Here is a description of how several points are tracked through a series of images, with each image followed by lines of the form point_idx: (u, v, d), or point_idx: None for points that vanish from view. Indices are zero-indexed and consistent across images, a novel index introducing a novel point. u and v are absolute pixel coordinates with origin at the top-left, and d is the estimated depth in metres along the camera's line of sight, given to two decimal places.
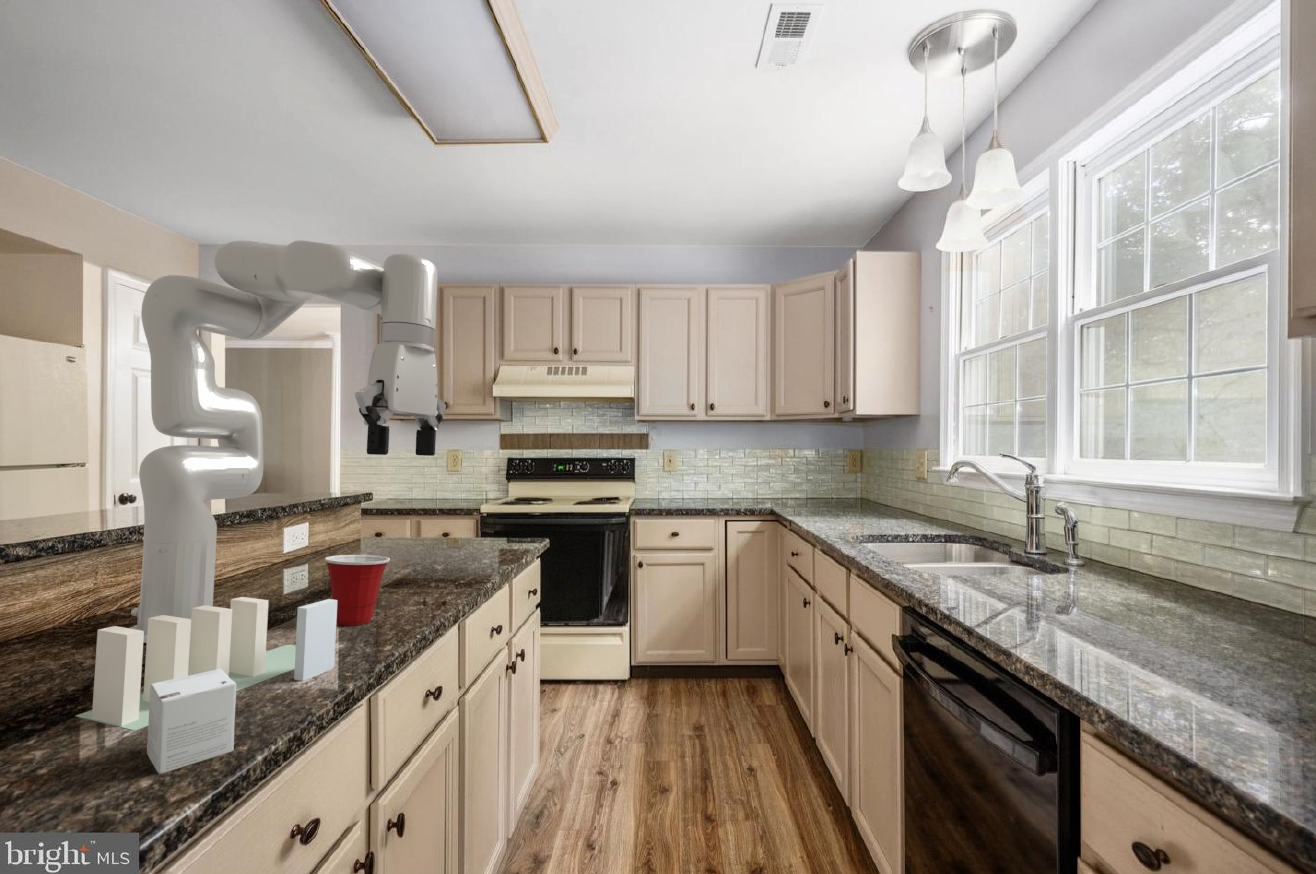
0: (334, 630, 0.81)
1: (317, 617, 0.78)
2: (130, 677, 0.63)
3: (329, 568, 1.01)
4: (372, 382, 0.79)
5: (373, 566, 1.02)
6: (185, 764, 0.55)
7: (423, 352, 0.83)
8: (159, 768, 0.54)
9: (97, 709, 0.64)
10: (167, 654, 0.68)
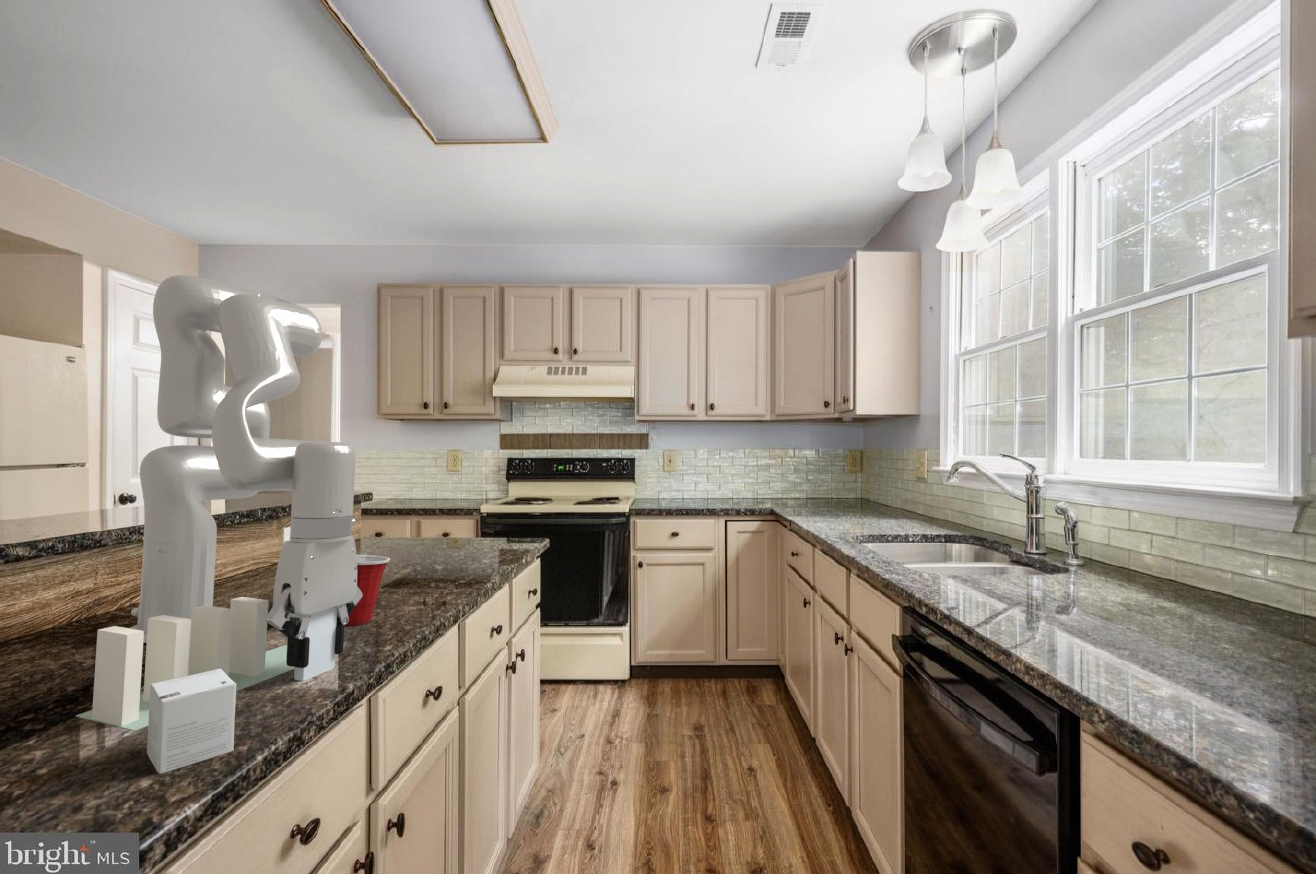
0: (334, 630, 0.81)
1: (317, 617, 0.78)
2: (130, 677, 0.63)
3: None
4: (279, 585, 0.75)
5: (373, 566, 1.02)
6: (185, 764, 0.55)
7: (338, 542, 0.79)
8: (159, 768, 0.54)
9: (97, 709, 0.64)
10: (167, 654, 0.68)
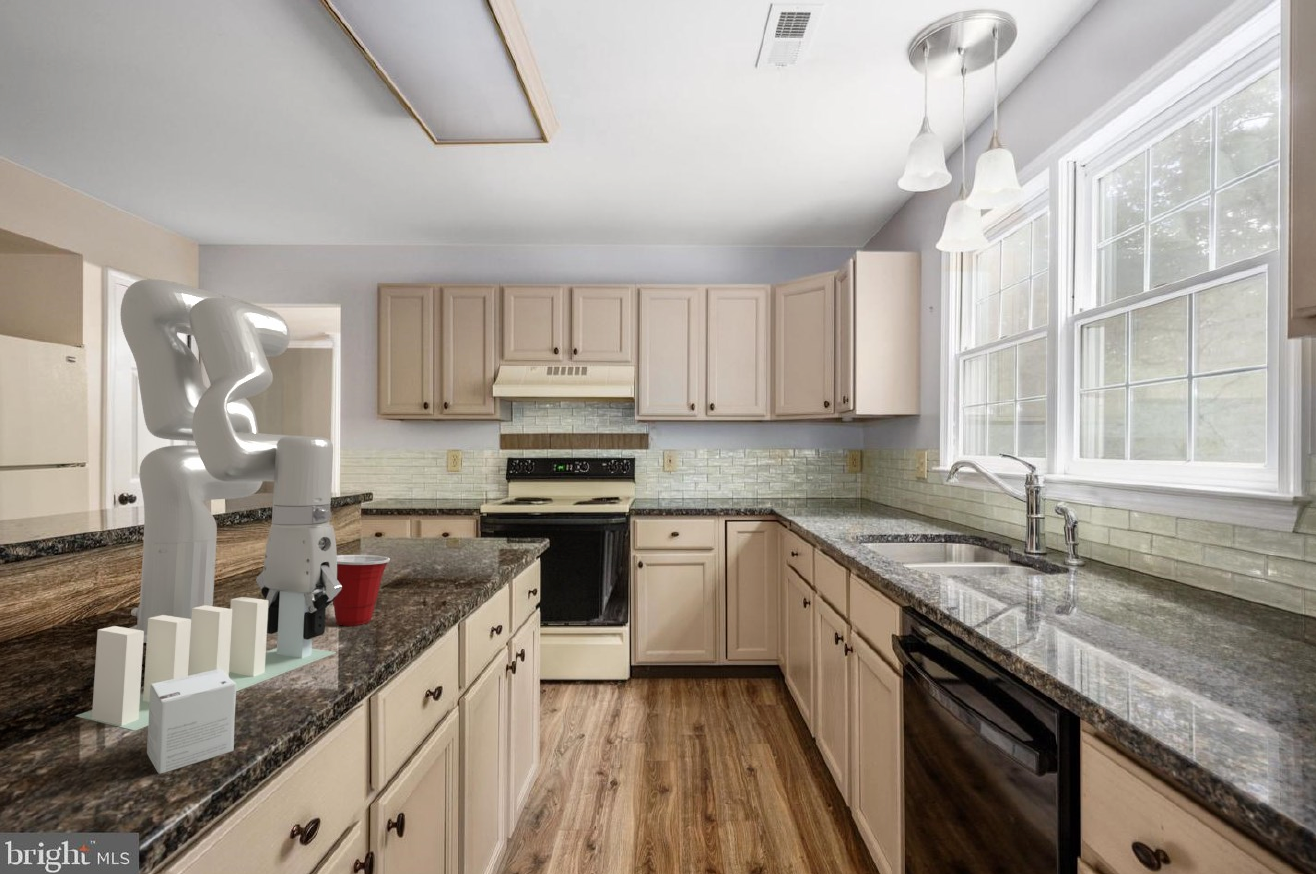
0: (302, 619, 0.84)
1: (288, 599, 0.85)
2: (130, 677, 0.63)
3: None
4: None
5: (373, 566, 1.02)
6: (185, 764, 0.55)
7: (288, 529, 0.84)
8: (159, 768, 0.54)
9: (97, 709, 0.64)
10: (167, 654, 0.68)
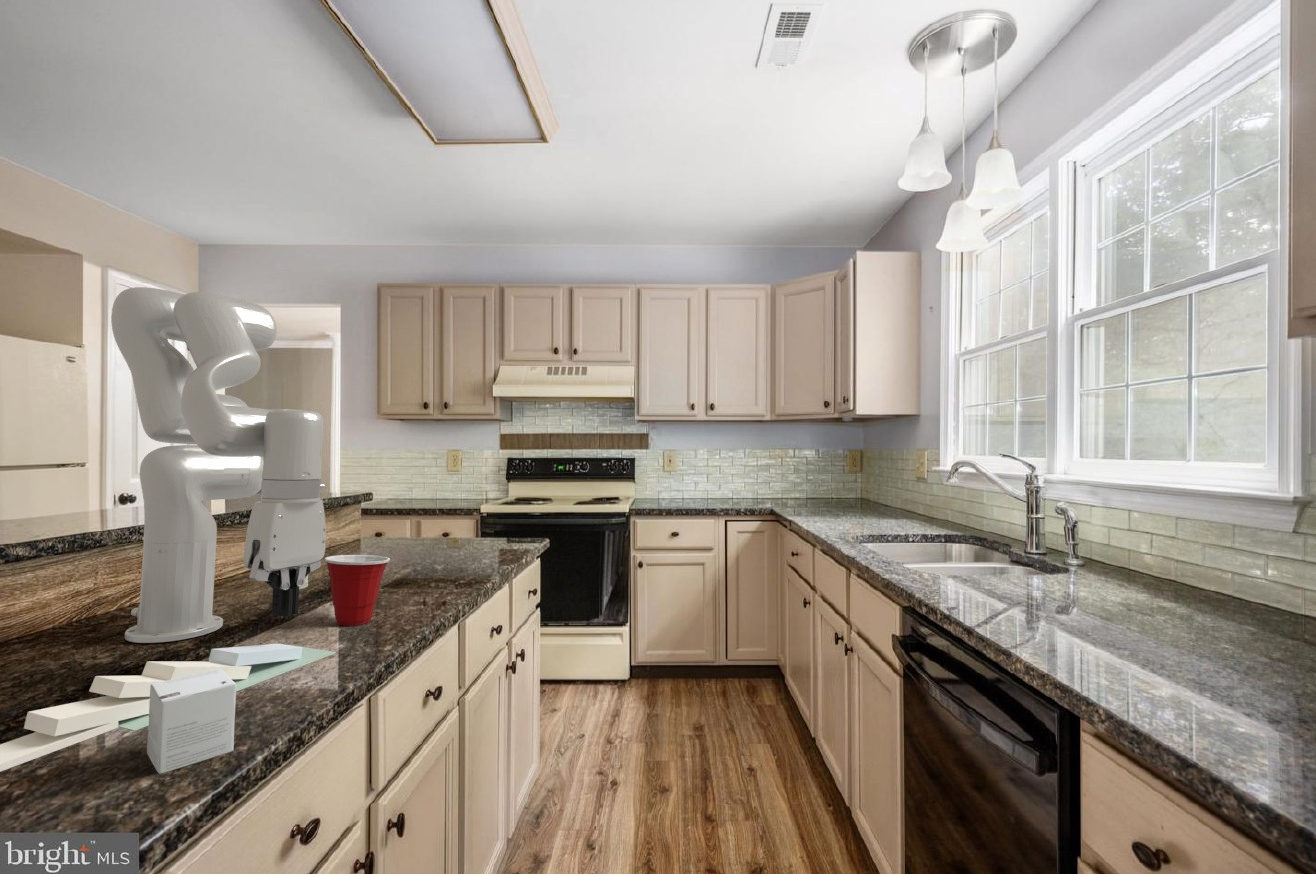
0: (263, 662, 0.79)
1: None
2: None
3: (329, 568, 1.01)
4: (249, 541, 0.80)
5: (373, 566, 1.02)
6: (185, 764, 0.55)
7: (306, 503, 0.84)
8: (159, 768, 0.54)
9: None
10: None
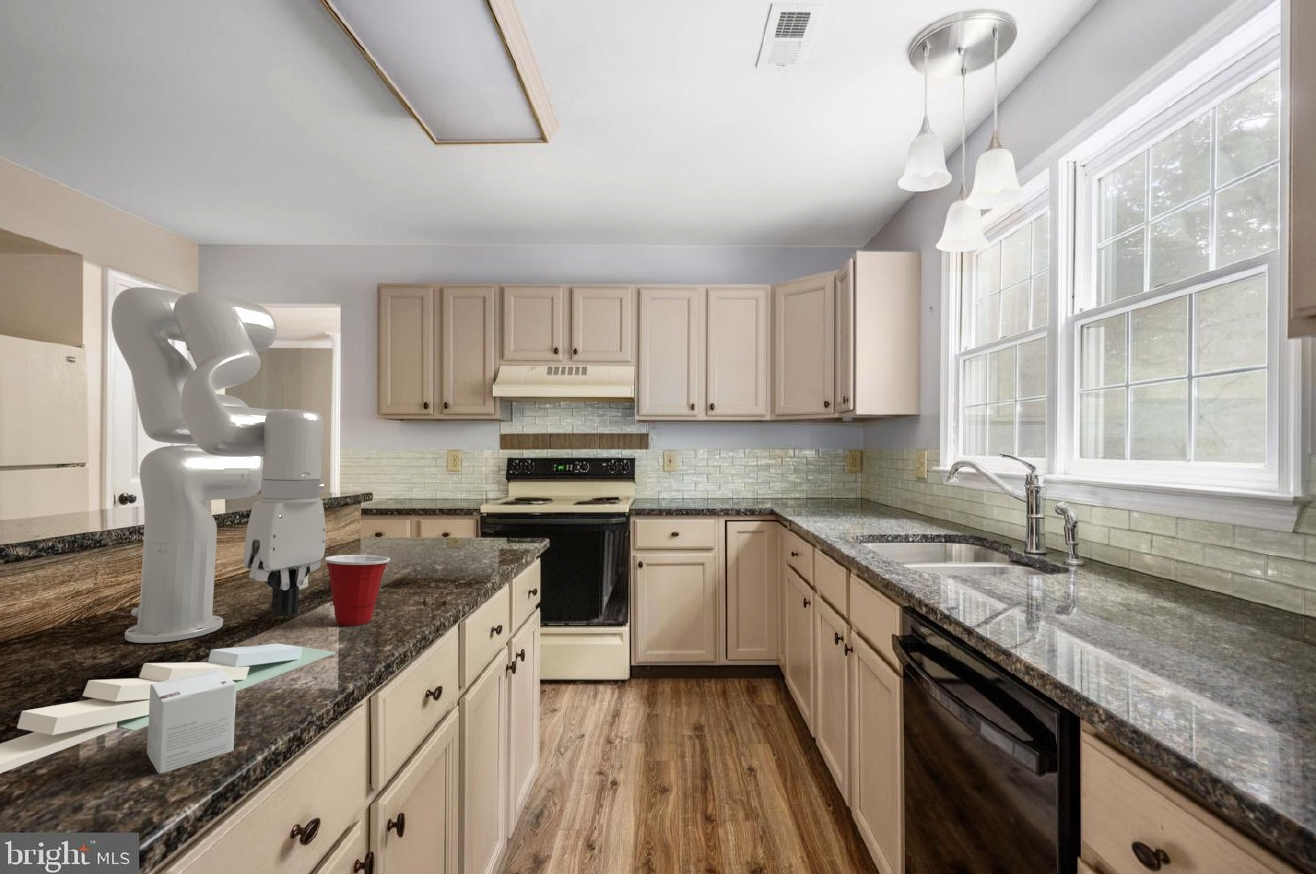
0: (263, 663, 0.79)
1: None
2: None
3: (329, 568, 1.01)
4: (249, 541, 0.80)
5: (373, 566, 1.02)
6: (185, 764, 0.55)
7: (306, 504, 0.84)
8: (159, 768, 0.54)
9: None
10: None
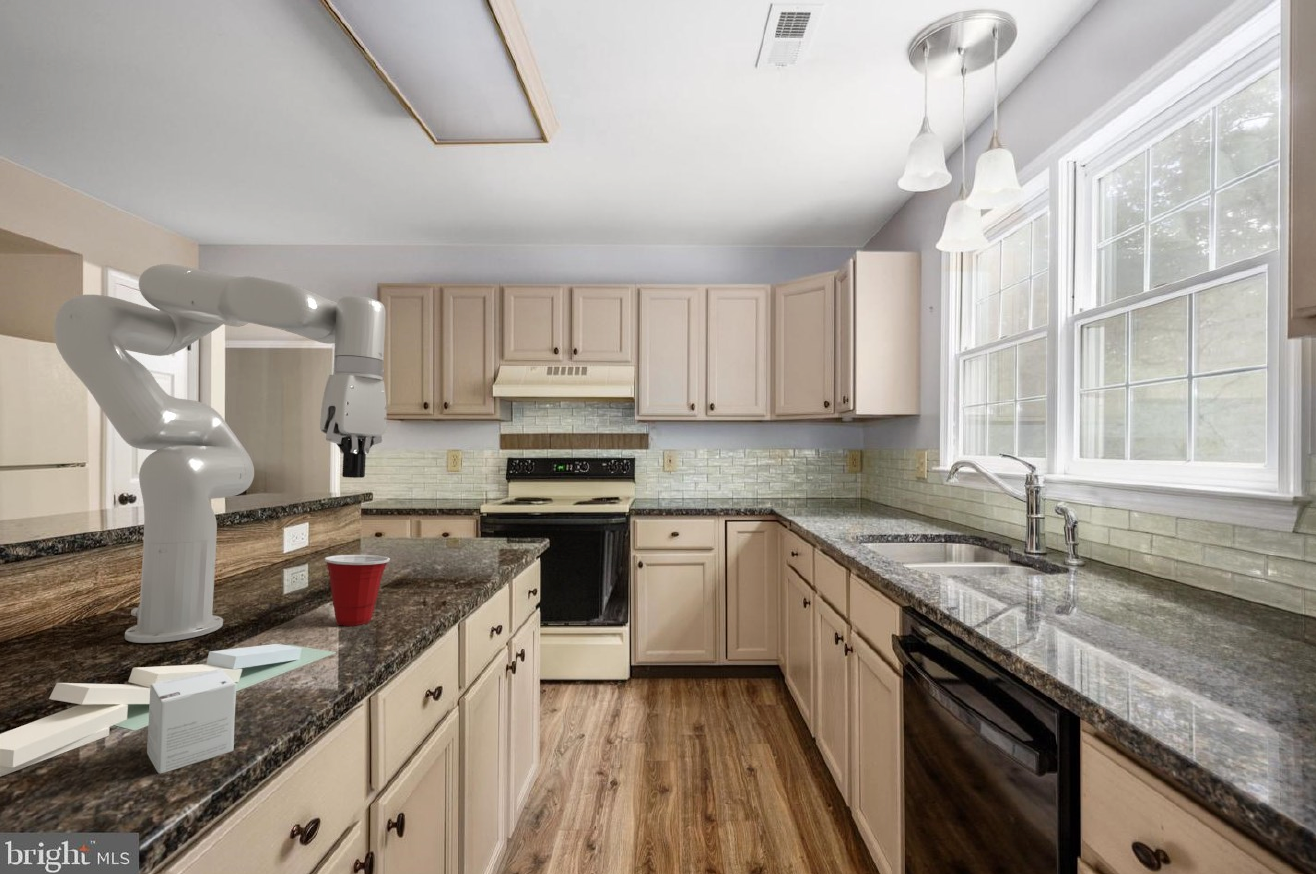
0: (262, 664, 0.78)
1: None
2: None
3: (329, 568, 1.01)
4: (325, 408, 0.92)
5: (373, 566, 1.02)
6: (185, 764, 0.55)
7: (372, 380, 0.96)
8: (159, 768, 0.54)
9: None
10: None
